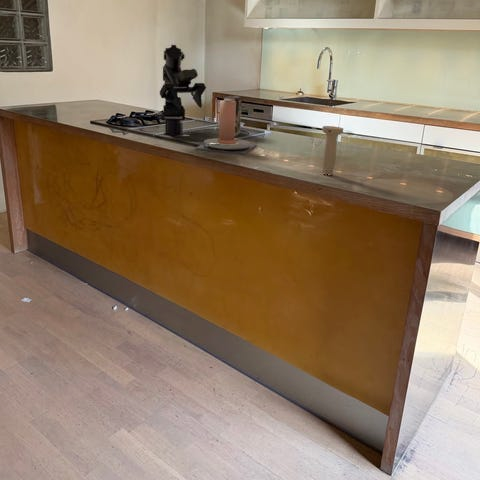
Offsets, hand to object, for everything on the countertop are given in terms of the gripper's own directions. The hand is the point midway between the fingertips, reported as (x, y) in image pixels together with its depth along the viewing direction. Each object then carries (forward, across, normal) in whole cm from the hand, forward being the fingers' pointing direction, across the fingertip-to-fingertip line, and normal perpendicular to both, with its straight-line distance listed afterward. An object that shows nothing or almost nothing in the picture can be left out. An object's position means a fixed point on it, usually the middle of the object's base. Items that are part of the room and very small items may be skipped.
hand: (191, 107), depth 188 cm
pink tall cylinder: (+18, +7, -2) cm, 20 cm away
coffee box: (+4, +27, +16) cm, 31 cm away
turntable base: (+20, +7, 0) cm, 21 cm away
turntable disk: (+20, +7, 0) cm, 21 cm away
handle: (+54, +11, -35) cm, 65 cm away
